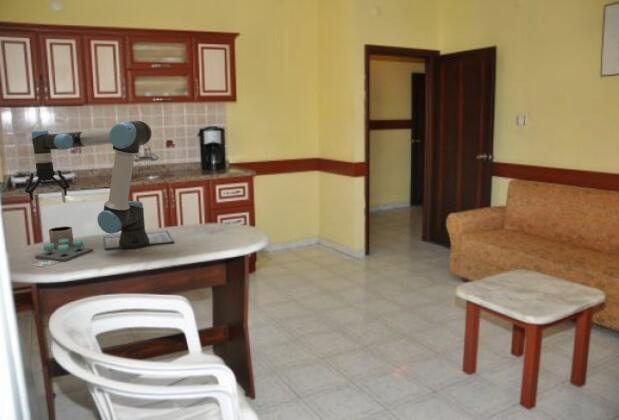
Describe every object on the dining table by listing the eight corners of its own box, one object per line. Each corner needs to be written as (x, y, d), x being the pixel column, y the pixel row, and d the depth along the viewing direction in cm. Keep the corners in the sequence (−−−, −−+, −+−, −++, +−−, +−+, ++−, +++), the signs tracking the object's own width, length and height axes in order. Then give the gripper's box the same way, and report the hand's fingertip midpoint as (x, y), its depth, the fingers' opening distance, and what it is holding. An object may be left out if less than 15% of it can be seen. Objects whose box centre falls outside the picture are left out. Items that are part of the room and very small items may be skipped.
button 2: (71, 252, 247) (70, 244, 246) (63, 255, 243) (63, 247, 242) (64, 252, 248) (63, 244, 248) (56, 254, 244) (55, 246, 243)
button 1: (85, 248, 255) (85, 240, 254) (78, 250, 251) (77, 242, 250) (78, 247, 257) (77, 239, 256) (71, 249, 252) (70, 241, 252)
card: (59, 262, 240) (59, 261, 240) (45, 267, 233) (45, 266, 233) (46, 260, 243) (46, 259, 243) (31, 265, 236) (31, 264, 235)
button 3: (71, 246, 258) (70, 238, 257) (64, 249, 254) (63, 241, 253) (64, 245, 260) (63, 238, 259) (57, 248, 256) (56, 240, 255)
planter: (65, 250, 261) (62, 231, 259) (46, 249, 263) (43, 230, 261) (78, 244, 271) (76, 226, 269) (60, 243, 274) (58, 226, 272)
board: (93, 251, 257) (92, 248, 256) (64, 262, 240) (64, 258, 240) (65, 248, 263) (64, 245, 263) (35, 258, 247) (35, 255, 246)
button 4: (57, 251, 250) (56, 243, 249) (49, 253, 246) (48, 245, 245) (50, 250, 252) (49, 242, 251) (42, 253, 247) (41, 245, 247)
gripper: (68, 159, 266) (73, 199, 270) (13, 163, 250) (20, 207, 254) (72, 159, 260) (78, 201, 264) (17, 164, 245) (23, 208, 249)
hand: (49, 204), depth 259 cm, fingers open, 13 cm apart
